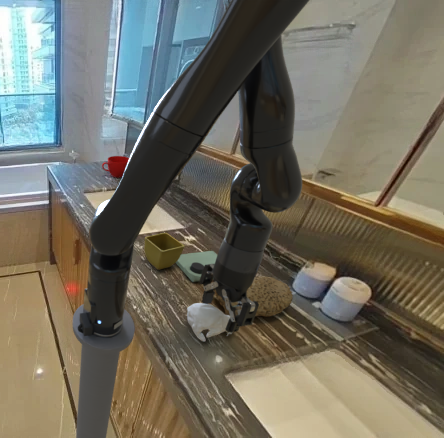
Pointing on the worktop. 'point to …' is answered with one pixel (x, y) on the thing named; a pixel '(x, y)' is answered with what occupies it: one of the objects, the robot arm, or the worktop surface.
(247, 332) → the worktop surface
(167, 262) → the flower pot
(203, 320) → the white animal figurine
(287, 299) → the sponge
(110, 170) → the ceramic cup
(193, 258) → the scale
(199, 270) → the button
